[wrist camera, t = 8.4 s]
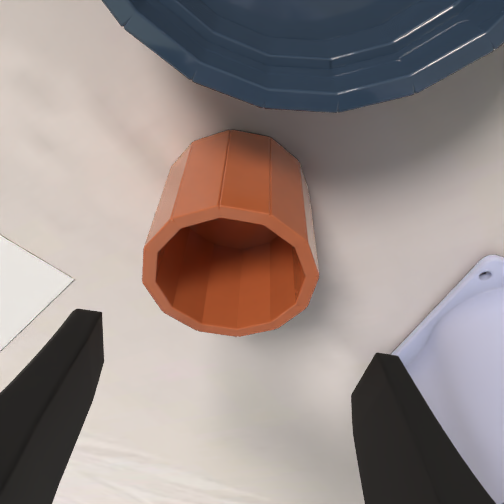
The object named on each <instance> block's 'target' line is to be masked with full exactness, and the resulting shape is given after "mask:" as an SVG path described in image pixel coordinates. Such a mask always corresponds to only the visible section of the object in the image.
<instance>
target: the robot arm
mask: <svg viewBox="0 0 504 504" xmlns="http://www.w3.org/2000/svg"><path fill="white" fill-rule="evenodd" d="M483 272H486V273H484V274H481V273H483ZM103 363H104V350H103V326H102V312H97V311H90V310H83V309H76V310H74V311H73V312H72V313H71V314H70V316H69V317H68V318H67V319H66V321H65V322H64V323H63V324H62V326H61V327H60V328H59V329H58V331H57V332H56V333H55V334H54V335H53V337H52V338H51V339H50V340H49V341H48V342H47V344H46V345H45V346H44V347H43V348H42V349H41V350H40V352H39V353H38V354H37V355H36V356H35V357H34V358H33V359H32V360H31V361H30V363H29V364H28V365H27V366H26V367H25V368H24V369H23V370H22V371H21V372H20V373H19V374H18V375H17V377H16V378H15V379H14V380H13V381H12V382H11V383H10V384H9V385H8V386H7V387H6V388H5V389H4V390H3V391H2V392H1V393H0V504H52V502H53V499H54V496H55V494H56V491H57V488H58V485H59V483H60V480H61V478H62V476H63V473H64V471H65V468H66V466H67V463H68V461H69V458H70V456H71V453H72V451H73V448H74V446H75V444H76V441H77V439H78V436H79V434H80V431H81V429H82V426H83V424H84V421H85V419H86V416H87V414H88V411H89V409H90V406H91V404H92V401H93V398H94V395H95V391H96V388H97V385H98V381H99V377H100V374H101V370H102V367H103ZM351 403H352V424H353V436H354V442H355V448H356V454H357V460H358V466H359V472H360V478H361V483H362V489H363V495H364V501H365V504H504V257H501V256H498V255H488V256H485V257H484V258H482V259H481V260H480V261H479V262H478V263H477V264H476V265H475V266H474V267H473V268H472V269H471V270H470V271H469V272H468V274H467V275H466V276H465V277H464V278H463V279H462V280H461V281H460V282H459V283H458V284H457V285H456V286H455V287H454V288H453V289H452V290H451V291H450V292H449V294H448V295H447V296H446V297H445V298H444V299H443V300H442V301H441V302H440V303H439V304H438V305H437V306H436V307H435V308H434V309H433V310H432V311H431V312H430V314H429V315H428V316H427V317H426V318H425V319H424V320H423V321H422V322H421V323H420V324H419V325H418V326H417V327H416V328H415V329H414V330H413V331H412V332H411V334H410V335H409V336H408V337H407V338H406V339H405V340H404V341H403V342H402V343H401V344H400V345H399V346H398V347H397V348H396V349H395V350H394V351H393V352H392V353H391V355H389V354H382V353H376V354H375V356H374V357H373V359H372V361H371V362H370V364H369V366H368V367H367V369H366V371H365V373H364V374H363V376H362V378H361V379H360V381H359V383H358V384H357V386H356V388H355V390H354V391H353V393H352V395H351Z"/></svg>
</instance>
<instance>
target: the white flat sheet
mask: <svg viewBox="0 0 504 504" xmlns="http://www.w3.org/2000/svg"><path fill="white" fill-rule="evenodd" d="M73 280H74V279H73V278H71V277H69V276H68V275H66V274H64V273H63V272H61V271H59V270H58V269H56V268H54V267H53V266H51V265H49V264H48V263H46V262H44V261H43V260H41V259H39V258H38V257H36V256H34V255H32V254H31V253H29V252H27V251H26V250H24V249H22V248H21V247H19V246H17V245H16V244H14V243H12V242H11V241H9V240H7V239H6V238H4V237H2V236H1V235H0V351H1V350H2V349H3V348H4V347H5V346H6V345H7V344H8V343H9V342H10V341H11V340H12V339H13V338H14V337H15V336H16V335H17V334H18V333H19V332H20V331H21V330H22V329H23V328H25V327H26V326H27V325H28V324H29V323H30V322H31V321H32V320H33V319H34V318H35V317H36V316H37V315H38V314H39V313H40V312H41V311H42V310H43V309H44V308H45V307H46V306H47V305H48V304H49V303H50V302H51V301H52V300H53V299H54V298H56V297H57V296H58V295H59V294H60V293H61V292H62V291H63V290H64V289H65V288H66V287H67V286H68V285H69V284H70V283H71V282H72V281H73Z"/></svg>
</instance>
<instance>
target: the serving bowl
mask: <svg viewBox="0 0 504 504" xmlns="http://www.w3.org/2000/svg"><path fill="white" fill-rule="evenodd" d="M102 1H103V3H104V4H105V5H106V7H107V8H108V9H109V11H110V12H111V13H112V15H113V16H114V17H115V18H116V20H117V21H118V22H119V24H120V25H121V26H124V29H125V30H126V31H127V32H129V33H130V34H131V35H133V36H134V37H135V38H136V39H138V40H139V41H140V42H142V43H143V44H144V45H146V46H147V47H148V48H149V49H151V50H152V51H153V52H155V53H156V54H157V55H158V56H160V57H161V58H162V59H164V60H165V61H166V62H168V63H169V64H170V65H171V66H173V67H174V68H175V69H177V70H178V71H179V72H180V73H182V74H183V75H184V76H186V77H187V78H188V79H190V80H192V81H193V82H195V83H197V84H200V85H203V86H205V87H208V88H210V89H213V90H216V91H218V92H221V93H223V94H226V95H229V96H231V97H234V98H236V99H239V100H242V101H244V102H247V103H250V104H252V105H255V106H257V107H260V108H263V107H264V108H265V109H279V110H296V111H312V112H329V113H337V112H344V111H348V110H353V109H357V108H361V107H365V106H369V105H373V104H377V103H382V102H386V101H390V100H394V99H398V98H402V97H406V96H410V95H413V94H414V93H419V92H420V91H422V90H424V89H426V88H428V87H429V86H431V85H433V84H435V83H437V82H439V81H440V80H442V79H444V78H446V77H448V76H449V75H451V74H453V73H455V72H457V71H458V70H460V69H462V68H464V67H466V66H468V65H469V64H471V63H473V62H475V61H477V60H478V59H480V58H482V57H484V56H486V55H488V54H489V53H491V52H493V51H494V49H497V48H498V47H499V46H500V45H502V44H503V43H504V0H102Z"/></svg>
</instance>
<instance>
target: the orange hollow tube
mask: <svg viewBox="0 0 504 504" xmlns="http://www.w3.org/2000/svg"><path fill="white" fill-rule="evenodd" d="M318 279H319V267H318V259H317V251H316V244H315V236H314V228H313V220H312V212H311V205H310V197H309V191H308V187H307V184H306V181H305V178H304V174H303V171H302V168H301V165H300V162H299V161H298V160H297V159H296V158H295V157H294V156H293V155H291V154H290V153H289V152H288V151H287V150H285V149H284V148H283V147H282V146H281V145H279V144H278V143H277V142H276V141H275V140H273V139H272V138H270V137H268V136H263V135H258V134H252V133H247V132H242V131H237V130H231V131H230V130H227V131H224V132H221V133H217V134H214V135H211V136H208V137H205V138H202V139H199V140H196V141H194V142H192V143H191V144H190V145H189V147H188V148H187V149H186V150H185V151H184V152H183V154H182V155H181V156H180V157H179V158H178V160H177V161H176V162H175V163H174V164H173V165H172V167H171V169H170V172H169V175H168V178H167V181H166V184H165V186H164V189H163V192H162V195H161V198H160V201H159V204H158V207H157V210H156V213H155V216H154V219H153V222H152V225H151V228H150V231H149V234H148V237H147V240H146V243H145V246H144V249H143V272H142V281H143V284H144V286H145V287H146V289H147V290H148V292H149V293H150V294H151V296H152V297H153V299H154V300H155V302H156V303H157V305H158V306H159V307H160V309H161V310H162V311H163V312H164V313H165V314H167V315H169V316H171V317H173V318H174V319H176V320H178V321H180V322H182V323H183V324H185V325H187V326H189V327H191V328H193V329H194V330H198V331H200V332H207V333H214V334H221V335H227V336H234V337H237V336H239V337H241V336H245V335H250V334H255V333H260V332H265V331H270V330H275V329H276V328H279V327H281V326H282V325H284V324H285V323H286V322H288V321H289V320H291V319H292V318H293V317H295V316H296V315H298V314H299V313H300V312H302V311H303V310H305V309H306V307H308V304H309V302H310V299H311V297H312V294H313V292H314V289H315V287H316V284H317V282H318Z"/></svg>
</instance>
